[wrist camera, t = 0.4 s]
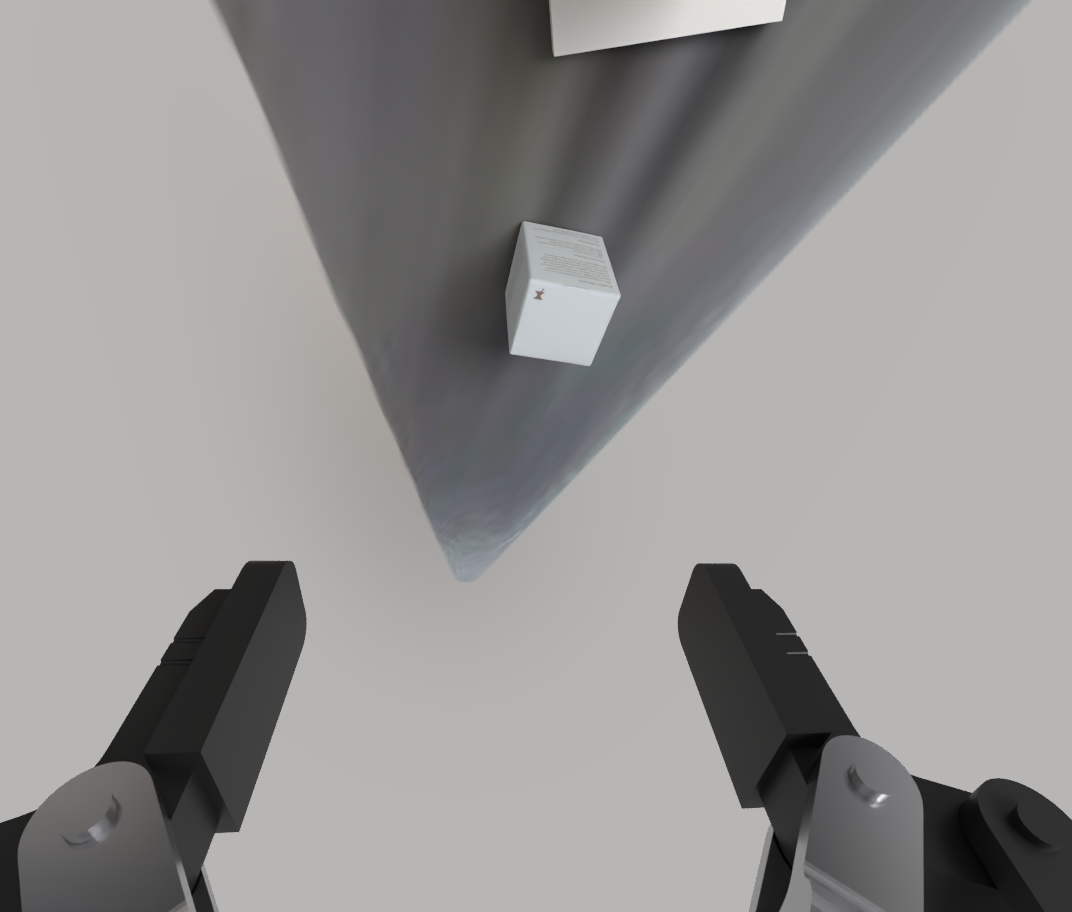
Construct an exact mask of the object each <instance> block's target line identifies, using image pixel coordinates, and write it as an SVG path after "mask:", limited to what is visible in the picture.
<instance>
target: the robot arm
mask: <svg viewBox="0 0 1072 912" xmlns="http://www.w3.org/2000/svg"><path fill="white" fill-rule="evenodd" d="M678 632H679V638H680V642H681V645H682V648H683V650H684V653H685V656H686V658H687V661H688V664H689V667H690V669H691V672H692V675H693V677H694V680H695V682H696V685H697V688H698V691H699V694H700V696H701V699H702V702H703V704H704V707H705V710H706V712H707V715H708V718H709V721H710V723H711V726H712V728H713V731H714V734H715V737H716V740H717V742H718V745H719V747H720V750H721V753H722V756H723V758H724V761H725V764H726V767H727V769H728V772H729V775H730V777H731V780H732V783H733V785H734V788H735V791H736V793H737V796H738V799H739V802H740V804H741V807H742V808H760V807H765V810H766V812H767V815H768V817H769V820H770V822H771V825H770V827H769V828H768V831H767V834H766V839H765V843H764V848H763V852H762V856H761V860H760V865H759V869H758V874H757V878H756V882H755V887H754V891H753V896H752V900H751V904H750V909H749V912H1072V820H1071V819H1070V818H1069V817H1068V816H1067V815H1066V814H1065V813H1064V812H1063V811H1062V810H1061V809H1059V808H1058V807H1057V806H1056V805H1055V804H1054V803H1052V802H1051V801H1049V800H1048V799H1046V798H1045V797H1044V796H1043V795H1041V794H1039V793H1038V792H1036V791H1035V790H1033V789H1031V788H1029V787H1027V786H1025V785H1023V784H1020V783H1018V782H1015V781H1011V780H1007V779H1000V778H997V779H990V780H987V781H985V782H984V783H983V784H982V785H980V787H978V788H977V789H976V790H975V791H974V792H973V793H970V792H967V791H963V790H960V789H956V788H953V787H950V786H946V785H943V784H939V783H936V782H932V781H929V780H926V779H922V778H919V777H916V776H913V775H910V774H909V773H908V771H907V770H906V769H905V767H904V766H903V765H902V764H901V763H900V762H899V761H898V760H897V759H896V758H895V757H893V756H892V755H891V754H890V753H889V752H887V751H886V750H884V749H883V748H882V747H880V746H878V745H877V744H875V743H873V742H871V741H869V740H867V739H864V738H861V737H860V735H859V734H858V733H857V731H856V730H855V728H854V727H853V725H852V723H851V722H850V720H849V719H848V717H847V715H846V713H845V712H844V710H843V708H842V707H841V705H840V704H839V702H838V700H837V698H836V697H835V695H834V693H833V692H832V690H831V688H830V687H829V686H828V684H827V682H826V680H825V678H824V677H823V675H822V673H821V672H820V670H819V668H818V667H817V665H816V663H815V662H814V660H813V659H812V657H811V656H809V655H808V650H807V649H806V647H805V646H804V644H803V642H802V640H801V639H800V637H799V636H798V637H797V635H796V630H795V629H794V627H793V625H792V624H791V622H790V620H789V619H788V617H787V615H786V614H785V612H784V610H783V609H782V608H781V607H780V606H779V605H778V604H777V603H776V602H775V601H773V600H772V599H771V598H770V597H769V596H768V595H767V594H766V593H765V592H764V591H763V590H761V589H751V588H750V586H749V584H748V582H747V581H746V579H745V577H744V575H743V574H742V572H741V570H740V569H739V567H738V566H737V565H735V564H701V563H700V564H697V565H696V566H695V567H694V569H693V572H692V575H691V578H690V581H689V584H688V587H687V590H686V593H685V596H684V599H683V602H682V605H681V608H680V611H679V616H678ZM305 634H306V612H305V608H304V604H303V599H302V595H301V590H300V586H299V581H298V577H297V573H296V568H295V565H294V563H293V562H292V561H249V562H247V563H246V564H245V565H244V567H243V568H242V570H241V572H240V574H239V576H238V578H237V579H236V581H235V583H234V585H233V587H232V589H215V590H214V591H213V592H211V593H210V594H209V595H208V596H207V597H206V598H205V599H203V600H202V601H201V602H200V603H199V604H198V605H197V606H196V607H194V608H193V609H192V610H191V611H190V612H189V614H188V615H187V617H186V619H185V620H184V622H183V624H182V625H181V627H180V629H179V630H178V632H177V634H176V636H175V637H174V642H173V643H171V644H170V645H169V647H168V649H167V650H166V652H165V654H164V656H163V657H162V659H161V664H160V666H157V667H156V669H155V670H154V672H153V674H152V676H151V677H150V679H149V681H148V682H147V684H146V685H145V687H144V689H143V690H142V692H141V694H140V695H139V697H138V699H137V701H136V702H135V704H134V706H133V707H132V709H131V711H130V712H129V714H128V716H127V717H126V719H125V721H124V722H123V724H122V726H121V727H120V729H119V731H118V732H117V734H116V736H115V738H114V739H113V741H112V742H111V744H110V746H109V747H108V749H107V751H106V752H105V754H104V755H103V757H102V758H101V760H100V761H99V762H98V763H97V764H96V766H95V767H94V768H92V769H89V770H88V771H85V772H83V773H81V774H79V775H77V776H76V777H74V778H72V779H71V780H69V781H68V782H66V783H65V784H64V785H62V786H61V787H60V788H58V789H57V790H56V791H55V792H54V793H53V794H52V795H50V796H49V797H48V798H47V799H46V801H45V802H44V803H43V804H42V805H41V806H40V807H39V808H38V809H37V810H35V811H33V812H30V813H27V814H25V815H22V816H20V817H17V818H14V819H11V820H8V821H5V822H2V823H0V912H219V911H218V908H217V905H216V902H215V899H214V895H213V892H212V889H211V886H210V882H209V880H208V876H207V873H206V870H205V866H204V864H203V862H204V860H205V857H206V855H207V852H208V849H209V846H210V844H211V841H212V839H213V836H214V833H224V832H239V830H240V828H241V825H242V822H243V819H244V816H245V813H246V810H247V807H248V804H249V801H250V798H251V796H252V793H253V790H254V787H255V784H256V781H257V778H258V775H259V772H260V769H261V767H262V764H263V761H264V758H265V755H266V752H267V749H268V746H269V743H270V740H271V737H272V735H273V732H274V729H275V726H276V723H277V720H278V717H279V714H280V712H281V709H282V706H283V703H284V700H285V697H286V694H287V691H288V688H289V685H290V683H291V680H292V677H293V674H294V671H295V668H296V665H297V662H298V659H299V657H300V654H301V651H302V648H303V644H304V640H305Z"/></svg>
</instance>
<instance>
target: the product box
mask: <svg viewBox="0 0 1072 912" xmlns="http://www.w3.org/2000/svg"><path fill="white" fill-rule="evenodd" d="M620 297H621V295H620V292H619V289H618V286H617V282H616V279H615V276H614V273H613V270H612V266H611V263H610V260H609V257H608V254H607V251H606V248H605V245H604V242H603V239H602V237H600V236H595V235H591V234H586V233H581V232H576V231H571V230H566V229H561V228H556V227H551V226H546V225H541V224H536V223H531V222H526V221H523V222H522V224H521V228H520V232H519V236H518V240H517V244H516V249H515V253H514V257H513V261H512V265H511V270H510V274H509V278H508V283H507V287H506V291H505V298H506V314H507V328H508V340H509V352H510V354H513V355H520V356H527V357H533V358H540V359H546V360H553V361H559V362H566V363H572V364H579V365H585V366H590V365H591V363H592V361H593V359H594V356H595V354H596V352H597V349H598V347H599V345H600V342H601V340H602V337H603V335H604V333H605V330H606V328H607V325H608V323H609V321H610V319H611V316H612V314H613V312H614V310H615V307H616V305H617V303H618V301H619V299H620Z"/></svg>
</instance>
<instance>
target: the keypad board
mask: <svg viewBox="0 0 1072 912" xmlns="http://www.w3.org/2000/svg"><path fill="white" fill-rule="evenodd" d="M785 4H786V0H549V12H550V26H551V40H552V51H553V54H554V57H556V56H562V55H569V54H575V53H581V52H588V51H594V50H600V49H606V48H613V47H619V46H625V45H632V44H638V43H644V42H651V41H657V40H663V39H669V38H676V37H682V36H688V35H695V34H701V33H707V32H714V31H720V30H726V29H732V28H739V27H745V26H751V25H758V24H764V23H770V22H777V21H782V19H783V14H784V9H785Z"/></svg>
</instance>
